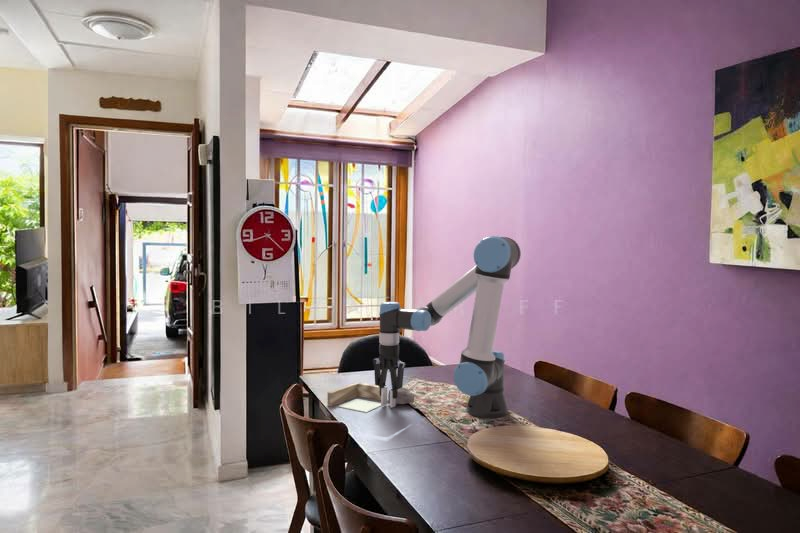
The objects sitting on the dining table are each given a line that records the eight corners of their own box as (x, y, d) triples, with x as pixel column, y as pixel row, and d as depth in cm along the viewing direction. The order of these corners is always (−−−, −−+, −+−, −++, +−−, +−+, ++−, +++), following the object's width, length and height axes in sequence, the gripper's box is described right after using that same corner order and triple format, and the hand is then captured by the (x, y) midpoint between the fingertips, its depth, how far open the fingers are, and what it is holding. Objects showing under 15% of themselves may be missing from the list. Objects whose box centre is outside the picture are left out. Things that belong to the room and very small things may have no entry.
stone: (396, 407, 194) (395, 391, 195) (384, 403, 201) (384, 388, 201) (417, 403, 200) (417, 387, 200) (405, 399, 207) (405, 384, 207)
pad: (384, 404, 201) (384, 403, 201) (366, 412, 191) (366, 411, 191) (356, 399, 208) (356, 398, 207) (337, 406, 197) (337, 406, 197)
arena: (387, 399, 207) (387, 387, 207) (359, 411, 191) (360, 398, 191) (356, 394, 215) (356, 381, 215) (327, 405, 199) (327, 392, 199)
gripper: (413, 344, 196) (412, 406, 196) (376, 339, 204) (375, 399, 205) (402, 347, 189) (401, 412, 190) (365, 342, 198) (364, 404, 198)
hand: (388, 405), depth 197 cm, fingers closed on stone, 3 cm apart
